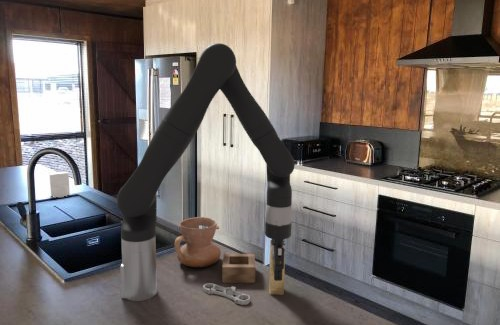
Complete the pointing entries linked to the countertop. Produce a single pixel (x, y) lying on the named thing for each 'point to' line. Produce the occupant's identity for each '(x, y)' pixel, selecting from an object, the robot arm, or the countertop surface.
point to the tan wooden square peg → (274, 286)
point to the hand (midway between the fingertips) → (276, 273)
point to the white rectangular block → (59, 184)
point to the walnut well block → (238, 268)
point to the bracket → (229, 293)
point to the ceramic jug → (197, 242)
